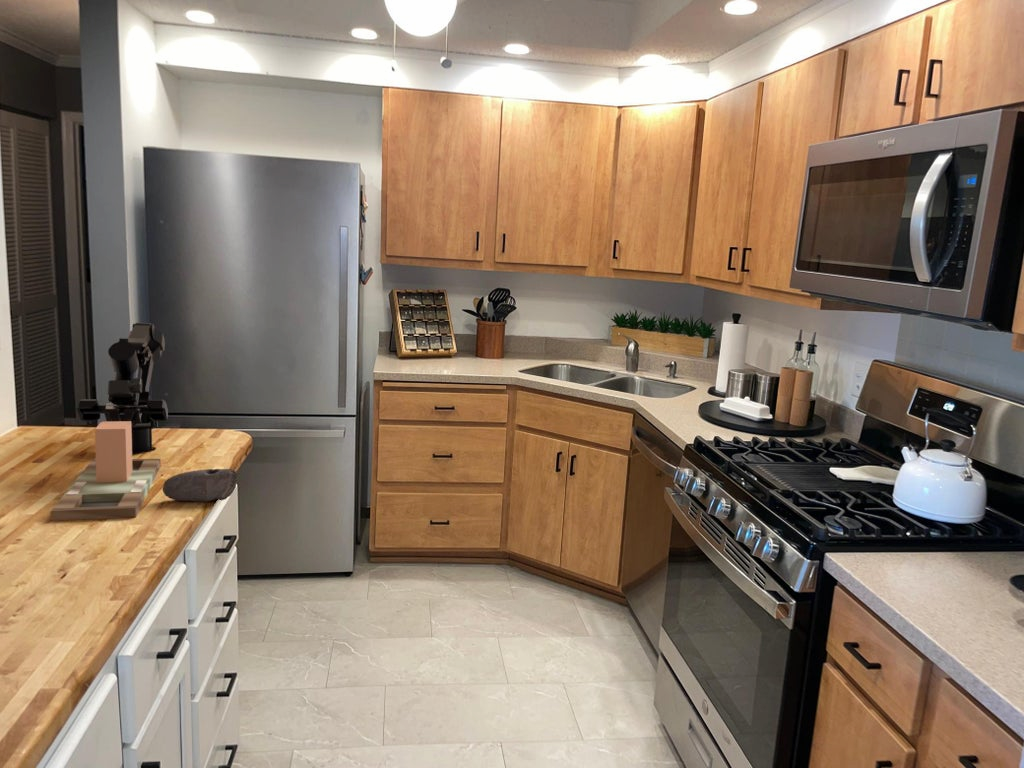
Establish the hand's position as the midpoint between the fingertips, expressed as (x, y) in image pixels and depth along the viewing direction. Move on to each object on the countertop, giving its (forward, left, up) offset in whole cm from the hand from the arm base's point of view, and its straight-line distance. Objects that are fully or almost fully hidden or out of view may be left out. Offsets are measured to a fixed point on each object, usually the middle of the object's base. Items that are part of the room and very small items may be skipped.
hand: (119, 441), depth 174 cm
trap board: (+7, +7, -9) cm, 13 cm away
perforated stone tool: (-1, +26, -9) cm, 27 cm away
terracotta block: (+4, +4, -7) cm, 9 cm away
